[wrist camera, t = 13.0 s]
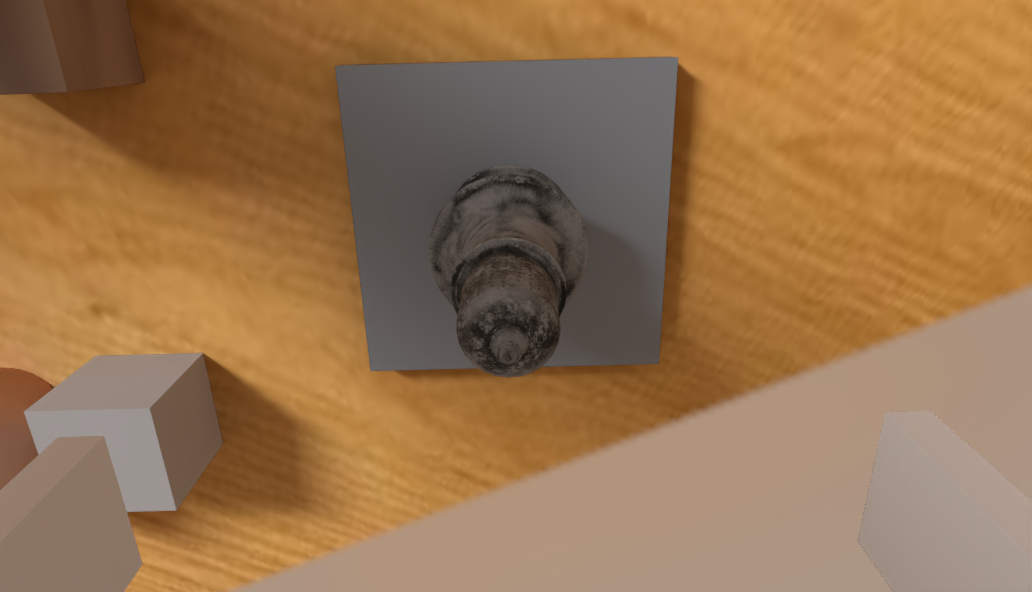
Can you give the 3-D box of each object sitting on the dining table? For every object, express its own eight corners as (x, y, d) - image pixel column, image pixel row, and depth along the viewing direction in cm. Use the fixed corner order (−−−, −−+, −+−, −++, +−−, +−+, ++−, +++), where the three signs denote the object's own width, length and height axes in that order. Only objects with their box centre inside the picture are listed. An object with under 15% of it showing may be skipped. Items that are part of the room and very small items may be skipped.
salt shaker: (456, 139, 26) (415, 218, 15) (598, 178, 27) (660, 281, 16) (425, 275, 28) (368, 433, 17) (557, 308, 29) (586, 480, 18)
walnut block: (21, 86, 27) (-83, 97, 22) (-20, -54, 25) (-144, -75, 20) (145, 82, 27) (67, 92, 22) (113, -59, 25) (21, -81, 20)
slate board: (375, 358, 31) (370, 371, 30) (342, 65, 26) (334, 66, 25) (653, 352, 31) (658, 363, 30) (670, 56, 26) (678, 57, 25)
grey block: (122, 445, 33) (58, 513, 28) (96, 354, 31) (23, 411, 26) (223, 443, 33) (176, 510, 28) (203, 352, 31) (149, 408, 26)
